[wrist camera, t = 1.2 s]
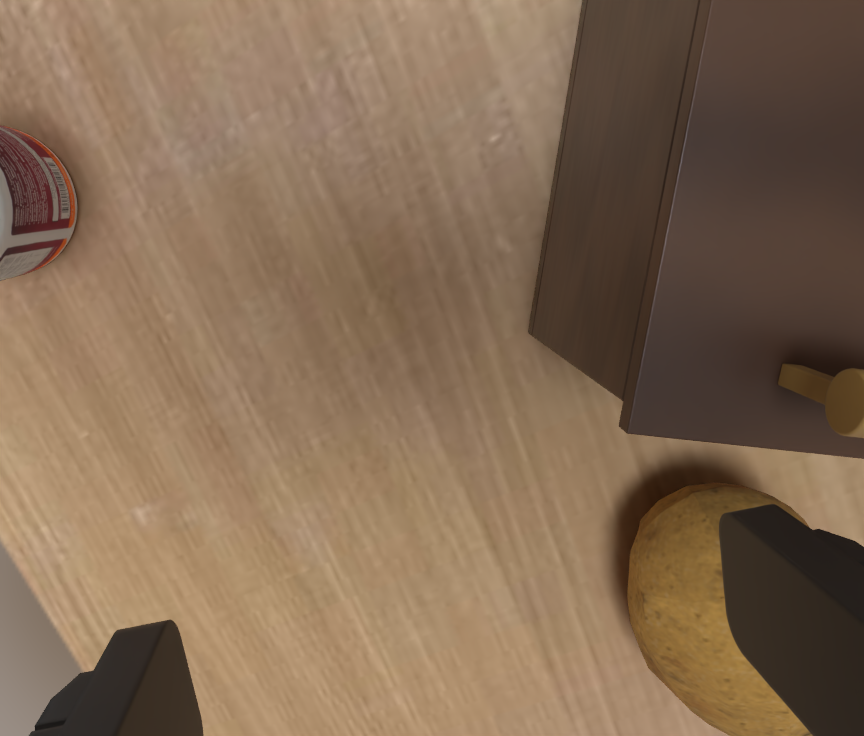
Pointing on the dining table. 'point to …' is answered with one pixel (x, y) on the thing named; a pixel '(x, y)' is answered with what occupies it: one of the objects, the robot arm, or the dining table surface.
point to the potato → (699, 612)
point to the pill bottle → (32, 204)
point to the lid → (760, 238)
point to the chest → (610, 181)
